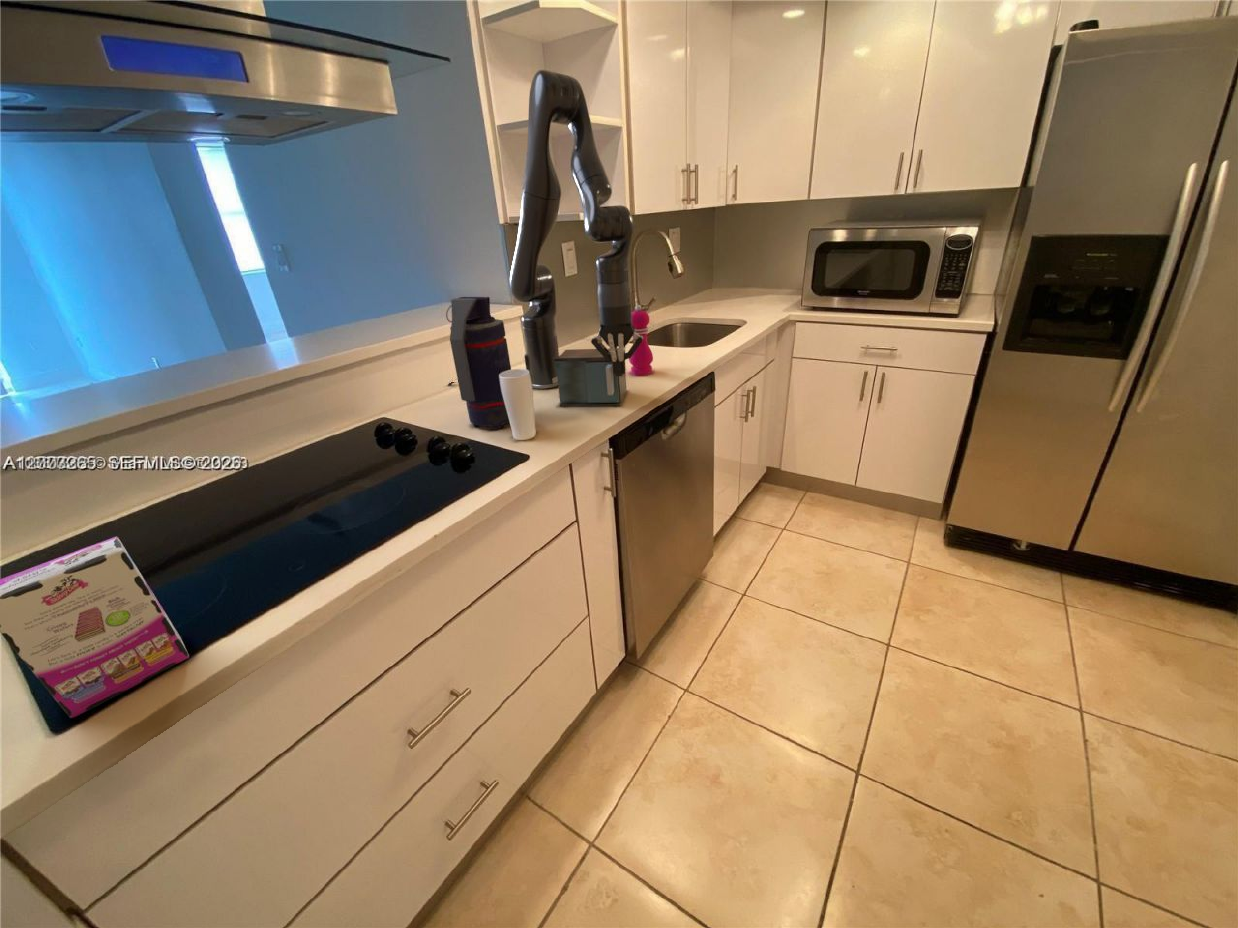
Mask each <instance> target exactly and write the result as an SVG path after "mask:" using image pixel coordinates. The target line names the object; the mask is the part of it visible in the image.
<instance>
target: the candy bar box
mask: <svg viewBox="0 0 1238 928" xmlns="http://www.w3.org/2000/svg"><path fill="white" fill-rule="evenodd" d="M0 634H1V636H2V637H3V639H5V640H6V642H7V643H8V644H9V645H10V646H11V648H12V649H13V650H14V651H15V653H16V654H17V655H18V656H19V657H20V658H21V660H22V661H23V662H24V664H25V665H26V666H27V667H28V669H30V671H31V672H32V673H33V674H34V676H35V677H36V678H37V679H38V680H39V682H40V683H41V684H42V685H43V687H44V688H45V689H46V690H47V692H48V693H49V694H50V695H51V696H52V697H53V698H54V700H55V701H56V702H57V704H58V705H59V706H60V708H61V709H62V710H63V711H64V713H65V714H66V715H67V716H68V717H69V718H70V719H73V718H76V717H78V716H80V715H82V714H84V713H86V712H88V711H90V710H92V709H94V708H95V707H98V706H100V705H101V704H103V703H105V702H107V701H109V700H111V699H113V698H116V697H117V696H118V695H121V694H123V693H124V692H126V691H128V690H130V689H132V688H134V687H136V686H138V685H140V684H142V683H144V682H145V681H147V680H149V679H151V678H153V677H155V676H158V674H161V673H162V672H164V671H167V670H168V669H170V668H172V667H174V666H176V665H177V664H180V663H182V662H183V661H186V660H187V659H189V658H190V654H189V653H188V650H187V648H186V646H185V643H184V641H183V639H182V637H181V636H180V634H179V632H178V630H177V629H176V628H175V626H174V625H173V623H172V621H171V620H170V618H169V616H168V614H167V613H166V611H165V610H164V608H163V606H162V605H161V604H160V602H159V600H158V599H157V597H156V596H155V593H153V590H152V589H151V587H150V586H149V585H148V582H147V581H146V580H145V578H144V576H143V575H142V573H141V572H140V570H139V568H138V567H137V565H136V564H135V562H134V561H133V559H132V557H131V556H130V554H129V553H128V551H127V549H126V548H125V546H124V544H123V543H122V541H121V540H120V538H119V537H118V535H117V536H114V537H111V538H109V539H106V540H103V541H101V542H97V543H95V544H92V545H90V546H89V545H88V546H86V547H84V548H81V549H78V550H75V551H73V552H71V553H68V554H65V555H62V556H59V557H57V558H55V559H52V560H49V561H46V562H44V563H41V564H38V565H35V566H33V567H30V568H28V569H24V570H22V571H19V572H17V573H14V574H11V575H8V576H6V577H3V578H1V579H0Z"/></svg>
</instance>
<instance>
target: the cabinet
mask: <svg viewBox="0 0 1238 928" xmlns="http://www.w3.org/2000/svg"><path fill="white" fill-rule="evenodd" d="M607 349H608V350H609V352H610V347H608V348H607ZM617 350H618V347H617ZM610 353H611V352H610ZM618 359H619V352H618ZM554 362H555V364H556V372H557V380H558V386H557V388H558V394H559V402H560V403H559V404H558V406H559V407H560V408H561V407H620V406H621V404H622V402H623V400H624V398H625V396H626V393H627V392H628V390H627V373H626V372H625V373H624V374H623V376H617V377H618V391H619V402H597V403H589V402H588V393H587V383H586V373H585V363H589V362H612V360H610V359H605V358H604V357H603V356H602V354H601V353H600V352H599V351H598V350H597V349H596V348H580V349H579V348H577V349H574V348H573V349H572V348H571V349H565V350H564V351H563V352H562V353H561V354H559V357H558V358H554Z"/></svg>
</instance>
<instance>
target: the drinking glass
mask: <svg viewBox="0 0 1238 928" xmlns="http://www.w3.org/2000/svg"><path fill="white" fill-rule="evenodd" d="M499 380H500V387H501V392H502V396H503V400H504V404H505V407H506V411H507V415H508V418H509V426H510V430H511V435H512V437H513V439H514V440H516V441H526V440H530V439H533V438H534V437H536V434H537V429H536V420H535V407H534V391H533V390H534V389H533V387H532V382H531V377H530V372H529V371H528V370H526V368H511V370H507V371H504V372H502V373H500V374H499Z"/></svg>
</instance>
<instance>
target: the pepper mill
mask: <svg viewBox="0 0 1238 928" xmlns="http://www.w3.org/2000/svg"><path fill="white" fill-rule="evenodd" d="M634 309H635V310H634V311H631V313H632V325H633V327H634V329H635V332H636V333H637V334H638V335H642V336H643V337H644V338H643V341H642V342H641V344H640V345H639V346H638V348H637V349H636V351H635V352H634V353H633V355H632V356H631V358H630V359H628V361H629V364H631V368H630V372H631V375H632V376H637V377H638V376H639V377H640V376H648V375H650V374H652V372H653V367H652V365H651V364H652V362H653V361H654V355H653V351H652V350H651V348H650V346H649V343H648V333H649V327H648V325H649V324H650V316H649V313H648V312H647V311H645V310H642V306H641V305H640V304H637V305H636V306H635V308H634ZM633 344H634V343H633V342H632V345H633Z"/></svg>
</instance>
